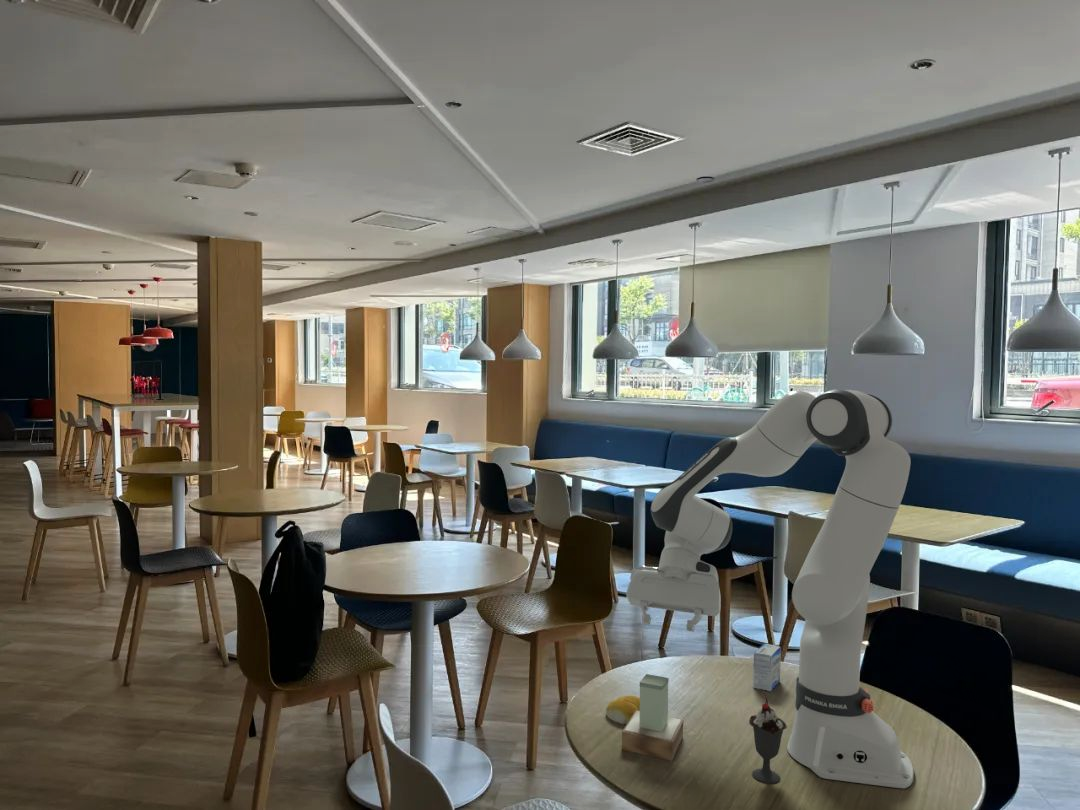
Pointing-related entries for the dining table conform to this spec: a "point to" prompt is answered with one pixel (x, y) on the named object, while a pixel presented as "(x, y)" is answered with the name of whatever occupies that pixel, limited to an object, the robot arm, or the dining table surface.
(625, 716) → the bread roll
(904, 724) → the dining table surface
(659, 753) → the wooden square block
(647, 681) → the green pillar block
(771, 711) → the sundae
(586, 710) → the dining table surface
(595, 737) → the dining table surface
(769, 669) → the medicine box
